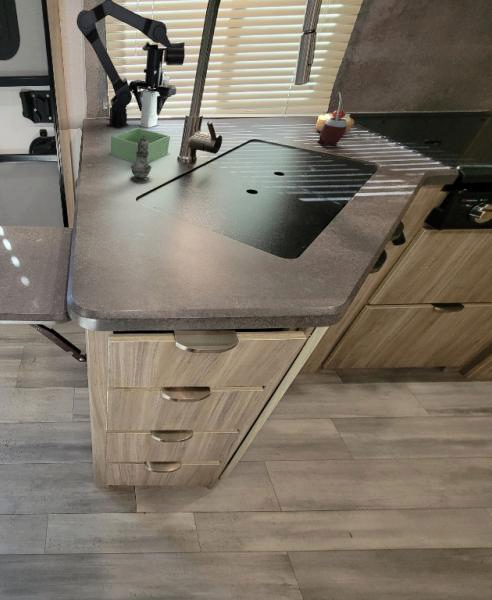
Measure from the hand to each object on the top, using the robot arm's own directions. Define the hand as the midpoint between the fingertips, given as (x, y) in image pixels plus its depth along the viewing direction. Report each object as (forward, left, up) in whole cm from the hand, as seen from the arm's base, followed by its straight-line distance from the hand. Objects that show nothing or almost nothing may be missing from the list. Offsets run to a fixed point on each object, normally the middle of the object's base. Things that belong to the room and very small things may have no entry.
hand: (149, 113), depth 131 cm
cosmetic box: (0, 0, -5) cm, 5 cm away
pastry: (+57, +41, -5) cm, 70 cm away
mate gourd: (+60, +25, -5) cm, 65 cm away
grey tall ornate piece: (+31, -45, -5) cm, 55 cm away
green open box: (+18, -29, -4) cm, 34 cm away
